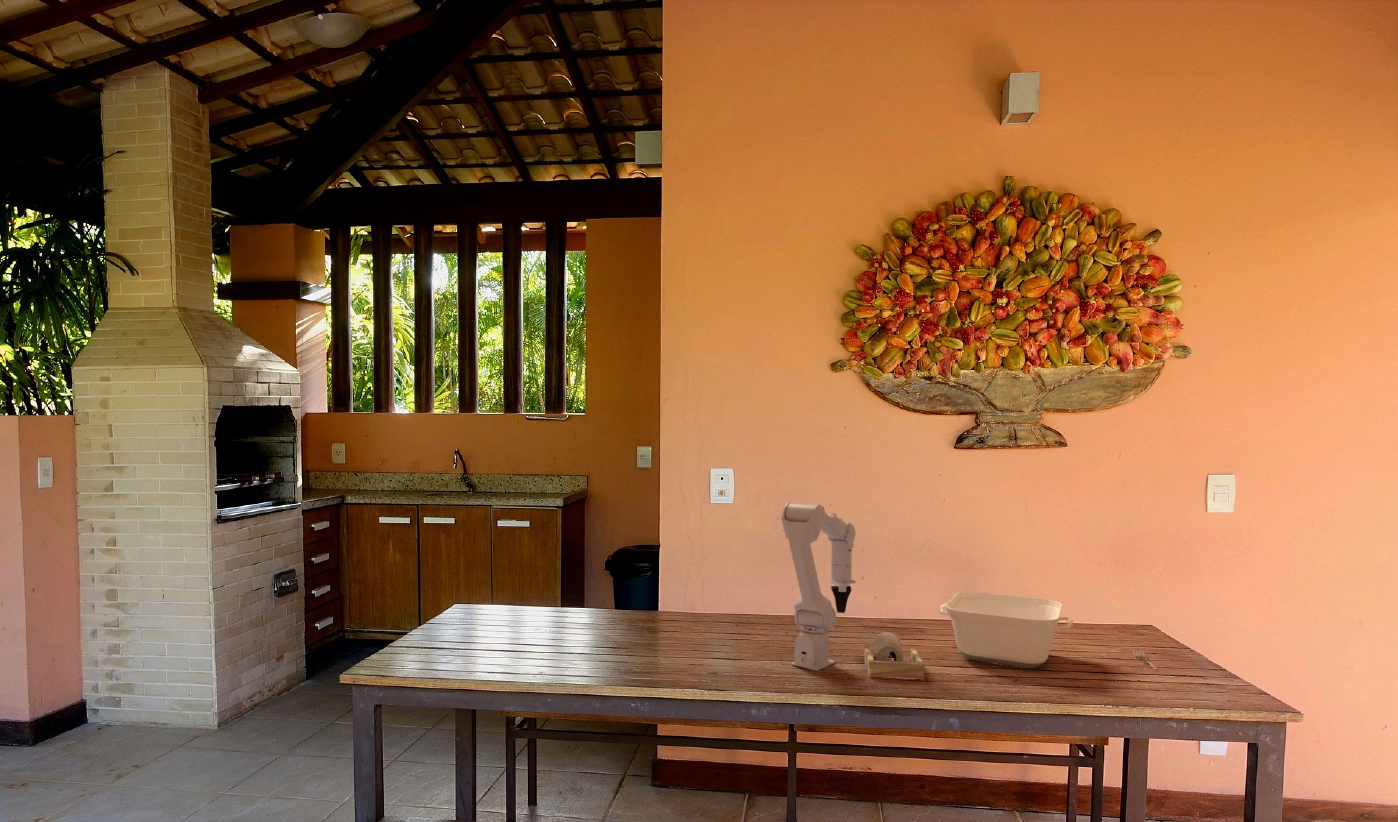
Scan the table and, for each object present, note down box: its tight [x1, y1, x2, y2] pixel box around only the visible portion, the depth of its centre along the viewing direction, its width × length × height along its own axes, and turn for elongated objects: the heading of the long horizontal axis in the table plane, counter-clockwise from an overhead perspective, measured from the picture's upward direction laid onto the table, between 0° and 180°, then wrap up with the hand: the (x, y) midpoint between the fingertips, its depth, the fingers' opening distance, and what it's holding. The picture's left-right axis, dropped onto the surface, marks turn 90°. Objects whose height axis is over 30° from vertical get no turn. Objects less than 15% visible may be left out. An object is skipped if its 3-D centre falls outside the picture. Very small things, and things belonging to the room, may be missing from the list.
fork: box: [1132, 650, 1158, 670], centre depth 207 cm, size 3×24×2 cm, turn 168°
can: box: [872, 631, 904, 662], centre depth 207 cm, size 8×8×12 cm
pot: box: [939, 590, 1074, 670], centre depth 215 cm, size 34×29×15 cm
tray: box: [863, 645, 925, 680], centre depth 203 cm, size 14×13×4 cm
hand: (840, 612), depth 221 cm, fingers closed
